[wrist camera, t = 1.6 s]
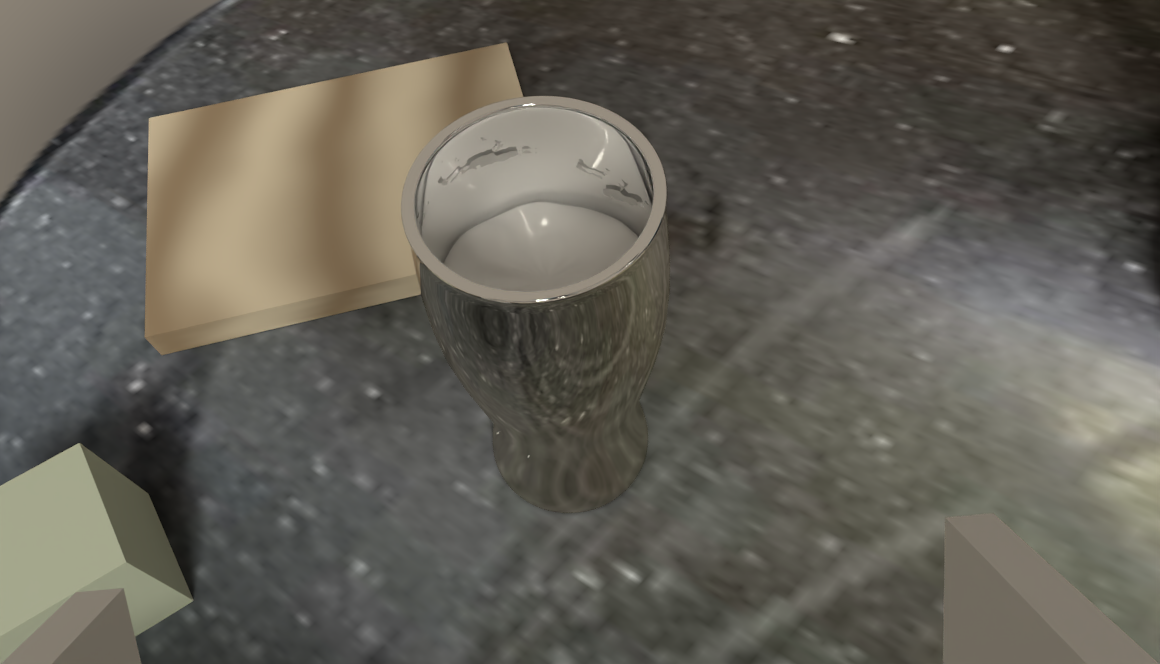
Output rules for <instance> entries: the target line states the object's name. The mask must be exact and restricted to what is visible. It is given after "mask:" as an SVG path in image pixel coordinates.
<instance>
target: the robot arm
mask: <svg viewBox="0 0 1160 664" xmlns="http://www.w3.org/2000/svg"><path fill="white" fill-rule="evenodd" d="M1 664H141V660H140V656H139V652H138V647H137V643H136V639H135V635H134V630H133V626H132V622H131V618H130V613H129V609H128V605H127V601H126V596H125V592H124V588H119V589H107V590H96V591H84V592H76V593H74V594H73V595H72V596H71V597H70V598H69V599H68V600H67V601H66V602H65V603H64V604H63V605H62V606H61V607H60V608H59V609H58V610H57V611H56V612H55V613H54V614H53V615H52V616H50V617H49V618H48V619H47V620H46V621H45V622H44V623H43V624H42V625H41V626H40V627H39V628H38V629H37V630H36V631H35V632H34V633H33V634H32V635H31V636H30V637H29V638H27V639H26V640H25V641H24V642H23V643H22V644H21V645H20V646H19V647H18V648H17V649H16V650H15V651H14V652H13V653H12V654H11V655H10V656H9V657H8V658H7V659H6V660H5V661H3V662H2V663H1ZM943 664H1159V663H1157V662H1156V661H1155V660H1154V659H1153V658H1152V657H1151V656H1150V655H1149V654H1148V653H1147V652H1145V651H1144V650H1143V649H1142V648H1141V647H1140V646H1139V645H1138V644H1137V643H1136V642H1134V641H1133V640H1132V639H1131V638H1130V637H1129V636H1128V635H1127V634H1126V633H1125V632H1123V631H1122V630H1121V629H1120V628H1119V627H1118V626H1117V625H1116V624H1115V623H1114V622H1112V621H1111V620H1110V619H1109V618H1108V617H1107V616H1106V615H1105V614H1104V613H1103V612H1101V611H1100V610H1099V609H1098V608H1097V607H1096V606H1095V605H1094V604H1093V603H1092V602H1090V601H1089V600H1088V599H1087V598H1086V597H1085V596H1084V595H1083V594H1082V593H1081V592H1079V591H1078V590H1077V589H1076V588H1075V587H1074V586H1073V585H1072V584H1071V583H1070V582H1068V581H1067V580H1066V579H1065V578H1064V577H1063V576H1062V575H1061V574H1060V573H1059V572H1057V571H1056V570H1055V569H1054V568H1053V567H1052V566H1051V565H1050V564H1049V563H1048V562H1046V561H1045V560H1044V559H1043V558H1042V557H1041V556H1040V555H1039V554H1038V553H1037V552H1036V551H1034V550H1033V549H1032V548H1031V547H1030V546H1029V545H1028V544H1027V543H1026V542H1025V541H1023V540H1022V539H1021V538H1020V537H1019V536H1018V535H1017V534H1016V533H1015V532H1014V531H1012V530H1011V529H1010V528H1009V527H1008V526H1007V525H1006V524H1005V523H1004V522H1003V521H1001V520H1000V519H999V518H998V517H997V516H996V515H995V514H994V513H991V514H979V515H967V516H956V517H945V567H944V629H943Z"/></svg>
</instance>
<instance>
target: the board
mask: <svg viewBox="0 0 1160 664" xmlns="http://www.w3.org/2000/svg"><path fill="white" fill-rule="evenodd" d="M519 97H523V94H522V91H521V87H520V84H519V81H518V78H517V74H516V71H515V68H514V65H513V61H512V58H511V55H510V51H509V48H508V45H507V43H502V44H497V45H493V46H488V47H483V48H478V49H474V50H469V51H464V52H459V53H455V54H450V55H445V56H441V57H436V58H431V59H426V60H422V61H417V62H412V63H408V64H403V65H398V66H393V67H389V68H384V69H379V70H374V71H370V72H365V73H360V74H356V75H351V76H346V77H341V78H337V79H332V80H327V81H323V82H318V83H313V84H308V85H304V86H299V87H294V88H289V89H285V90H280V91H275V92H271V93H266V94H261V95H256V96H252V97H247V98H242V99H238V100H233V101H228V102H223V103H219V104H214V105H209V106H204V107H200V108H195V109H190V110H186V111H181V112H176V113H171V114H167V115H162V116H157V117H153V118H149V147H148V198H147V249H146V300H145V338H146V339H147V340H148V341H149V342H150V343H151V344H152V345H153V346H154V348H155V349H156V350H157V351H158V352H159V353H160V354H161V355H164V354H169V353H173V352H177V351H181V350H186V349H190V348H194V347H199V346H203V345H207V344H211V343H216V342H220V341H224V340H228V339H233V338H237V337H241V336H245V335H250V334H254V333H258V332H263V331H267V330H271V329H275V328H280V327H284V326H288V325H292V324H297V323H301V322H305V321H309V320H314V319H318V318H322V317H327V316H331V315H335V314H339V313H344V312H348V311H352V310H356V309H361V308H365V307H369V306H373V305H378V304H382V303H386V302H391V301H395V300H399V299H403V298H408V297H412V296H416V295H420V294H421V293H420V289H419V285H418V281H417V277H416V272H415V268H414V264H413V259H412V254H411V249H410V245H409V242H408V240H407V237H406V234H405V231H404V228H403V224H402V217H401V198H402V191H403V187H404V183H405V180H406V177H407V175H408V172H409V170H410V168H411V166H412V164H413V163H414V161H415V159H416V158H417V156H418V155H419V153H420V152H421V151H422V149H423V148H424V147H425V146H426V145H427V144H428V143H429V141H430V140H431V139H432V138H433V137H434V136H436V135H437V134H438V133H439V132H440V131H441V130H443V129H444V128H445V127H446V126H448V125H449V124H451V123H452V122H454V121H455V120H457V119H459V118H460V117H462V116H464V115H466V114H468V113H470V112H472V111H474V110H476V109H479V108H481V107H484V106H487V105H489V104H493V103H496V102H499V101H503V100H508V99H513V98H519Z"/></svg>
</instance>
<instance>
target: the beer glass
mask: <svg viewBox="0 0 1160 664" xmlns="http://www.w3.org/2000/svg"><path fill="white" fill-rule="evenodd" d="M666 204H667V182H666V176H665V172H664V169H663V166H662V163H661V161H660V158H659V156H658V154H657V152H656V151H655V149H654V148H653V146H652V145H651V143H650V142H649V141H648V139H647V138H646V137H645V136H644V135H643V134H642V133H641V132H640V131H639V130H638V129H637V128H636V127H635V126H633V125H632V124H631V123H630V122H628V121H627V120H625V119H624V118H622V117H621V116H619V115H618V114H616V113H614V112H612V111H610V110H608V109H606V108H603V107H601V106H598V105H596V104H593V103H590V102H586V101H582V100H578V99H573V98H567V97H559V96H528V97H519V98H513V99H508V100H503V101H499V102H496V103H493V104H489V105H487V106H484V107H481V108H479V109H476V110H474V111H472V112H470V113H468V114H466V115H464V116H462V117H460V118H459V119H457V120H455V121H454V122H452V123H451V124H449V125H448V126H446V127H445V128H444V129H443V130H441V131H440V132H439V133H438V134H437V135H436V136H434V137H433V138H432V139H431V140H430V141H429V143H428V144H427V145H426V146H425V147H424V148H423V149H422V151H421V152H420V153H419V155H418V156H417V158H416V159H415V161H414V163H413V164H412V166H411V168H410V170H409V172H408V175H407V177H406V180H405V183H404V187H403V191H402V198H401V217H402V224H403V228H404V231H405V234H406V237H407V240H408V242H409V245H410V249H411V254H412V259H413V264H414V268H415V272H416V277H417V281H418V285H419V289H420V293H421V297H422V300H423V303H424V306H425V309H426V312H427V315H428V319H429V322H430V325H431V327H432V330H433V332H434V335H435V337H436V339H437V341H438V343H439V346H440V348H441V350H442V352H443V354H444V357H445V359H446V361H447V362H448V364H449V366H450V367H451V369H452V370H453V372H454V373H455V375H456V376H457V378H458V379H459V381H460V382H461V384H462V385H463V387H464V388H465V390H466V391H467V392H468V393H469V395H470V396H471V397H472V398H473V399H474V401H475V402H476V403H477V404H478V405H479V407H480V408H481V409H482V410H483V411H484V413H485V414H486V415H487V416H488V417H489V418H490V419H491V421H492V422H493V423H494V424H493V452H494V457H495V461H496V464H497V467H498V469H499V472H500V474H501V475H502V477H503V479H504V480H505V482H506V483H507V484H508V486H509V487H510V488H511V489H512V490H513V491H514V492H515V493H516V494H517V495H519V496H520V497H521V498H522V499H524V500H525V501H527V502H528V503H530V504H532V505H534V506H536V507H539V508H541V509H544V510H547V511H552V512H558V513H580V512H586V511H590V510H594V509H597V508H599V507H602V506H604V505H606V504H608V503H610V502H612V501H613V500H615V499H616V498H618V497H619V496H620V495H621V494H623V493H624V492H625V491H626V490H627V489H628V488H629V487H630V486H631V484H632V483H633V482H634V480H635V479H636V478H637V476H638V474H639V473H640V471H641V469H642V467H643V464H644V462H645V459H646V455H647V450H648V427H647V422H646V418H645V415H644V412H643V409H642V407H641V404H640V402H639V400H640V397H641V395H642V393H643V391H644V388H645V386H646V384H647V381H648V379H649V376H650V374H651V372H652V369H653V367H654V364H655V362H656V359H657V355H658V352H659V349H660V345H661V342H662V338H663V335H664V331H665V326H666V320H667V312H668V304H669V295H670V245H669V229H668V219H667V207H666Z"/></svg>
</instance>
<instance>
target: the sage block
mask: <svg viewBox="0 0 1160 664" xmlns="http://www.w3.org/2000/svg"><path fill="white" fill-rule="evenodd" d="M119 588H124V592H125V596H126V601H127V605H128V609H129V613H130V618H131V622H132V626H133V630H134V635H135V637H136V636H137V635H139V634H140V633H142V632H144V631H145V630H147V629H149V628H150V627H152V626H153V625H155V624H157V623H158V622H160V621H162V620H163V619H165V618H166V617H168V616H170V615H171V614H173V613H175V612H176V611H178V610H179V609H181V608H183V607H184V606H186V605H188V604H189V603H191V602H192V601H194V600H193V598H192V595H191V593H190V591H189V588H188V586H187V584H186V581H185V579H184V576H183V574H182V572H181V569H180V567H179V565H178V562H177V560H176V558H175V555H174V553H173V551H172V548H171V546H170V543H169V541H168V539H167V536H166V534H165V532H164V529H163V527H162V525H161V522H160V520H159V517H158V515H157V513H156V510H155V508H154V506H153V503H152V501H151V499H150V496H149V494H148V493H147V492H145V491H144V490H143V489H141V488H140V487H139V486H137V485H136V484H135V483H133V482H132V481H131V480H129V479H128V478H126V477H125V476H124V475H122V474H121V473H120V472H118V471H117V470H116V469H114V468H113V467H112V466H110V465H109V464H107V463H106V462H105V461H103V460H102V459H101V458H99V457H98V456H97V455H95V454H94V453H93V452H91V451H90V450H89V449H87V448H86V447H84V446H83V445H82V444H80V443H78V444H76V445H74V446H73V447H71V448H69V449H67V450H65V451H63V452H62V453H60V454H58V455H56V456H54V457H52V458H51V459H49V460H47V461H45V462H43V463H41V464H40V465H38V466H36V467H34V468H32V469H30V470H29V471H27V472H25V473H23V474H21V475H19V476H18V477H16V478H14V479H12V480H10V481H8V482H7V483H5V484H3V485H1V486H0V664H1V663H2V662H3V661H5V660H6V659H7V658H8V657H9V656H10V655H11V654H12V653H13V652H14V651H15V650H16V649H17V648H18V647H19V646H20V645H21V644H22V643H23V642H24V641H25V640H26V639H27V638H29V637H30V636H31V635H32V634H33V633H34V632H35V631H36V630H37V629H38V628H39V627H40V626H41V625H42V624H43V623H44V622H45V621H46V620H47V619H48V618H49V617H50V616H52V615H53V614H54V613H55V612H56V611H57V610H58V609H59V608H60V607H61V606H62V605H63V604H64V603H65V602H66V601H67V600H68V599H69V598H70V597H71V596H72V595H73V594H74V593H76V592H84V591H96V590H107V589H119Z"/></svg>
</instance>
